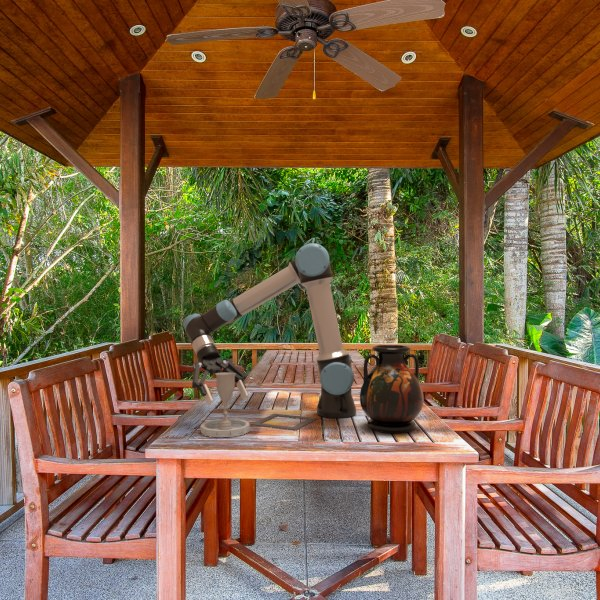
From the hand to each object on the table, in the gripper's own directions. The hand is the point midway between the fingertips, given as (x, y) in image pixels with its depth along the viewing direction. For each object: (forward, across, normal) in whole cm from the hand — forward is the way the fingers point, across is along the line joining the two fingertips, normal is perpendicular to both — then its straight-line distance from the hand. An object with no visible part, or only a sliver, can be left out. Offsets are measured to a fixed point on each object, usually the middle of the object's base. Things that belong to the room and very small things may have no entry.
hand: (228, 400), depth 170 cm
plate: (+6, 0, -9) cm, 11 cm away
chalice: (+5, 0, -9) cm, 10 cm away
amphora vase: (+29, -46, +14) cm, 56 cm away
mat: (+8, -23, -8) cm, 26 cm away
